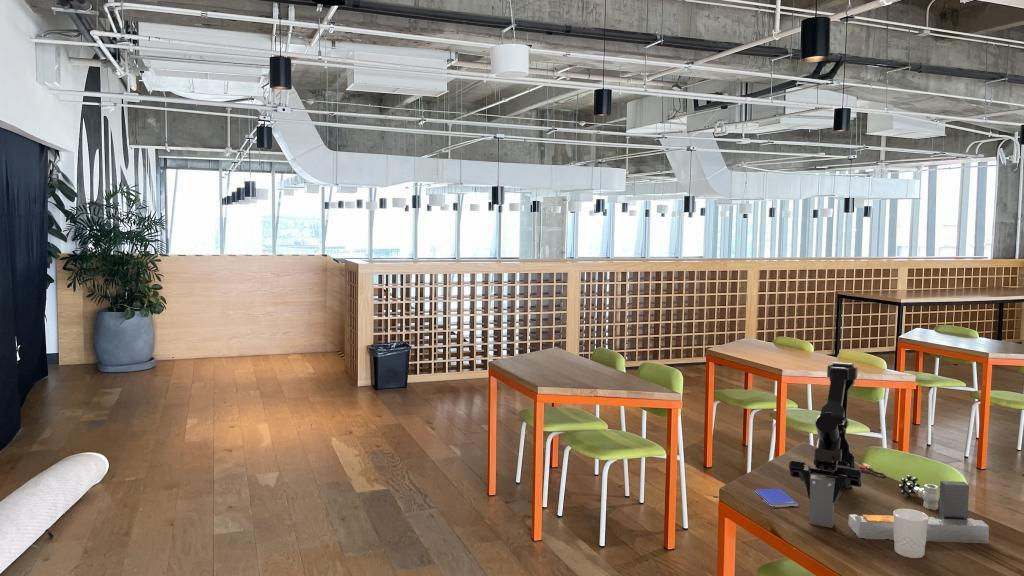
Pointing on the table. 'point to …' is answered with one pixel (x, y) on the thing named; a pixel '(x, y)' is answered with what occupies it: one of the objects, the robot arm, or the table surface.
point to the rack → (932, 520)
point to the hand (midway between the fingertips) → (821, 500)
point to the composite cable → (868, 467)
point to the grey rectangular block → (821, 501)
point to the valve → (921, 492)
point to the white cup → (910, 532)
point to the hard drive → (776, 497)
